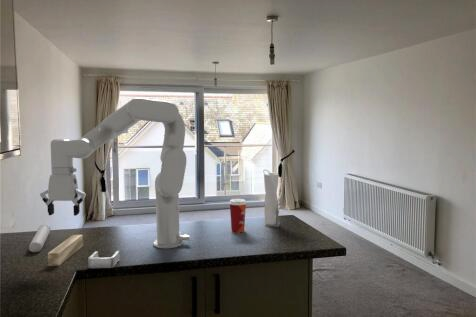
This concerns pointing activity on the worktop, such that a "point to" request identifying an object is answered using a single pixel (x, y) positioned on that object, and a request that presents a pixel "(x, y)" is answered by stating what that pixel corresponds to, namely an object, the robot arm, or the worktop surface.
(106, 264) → the cup bracket
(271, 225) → the white bottle gift bag
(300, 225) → the worktop surface
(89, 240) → the worktop surface
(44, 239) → the tube
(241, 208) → the coffee cup
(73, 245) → the maple rail
